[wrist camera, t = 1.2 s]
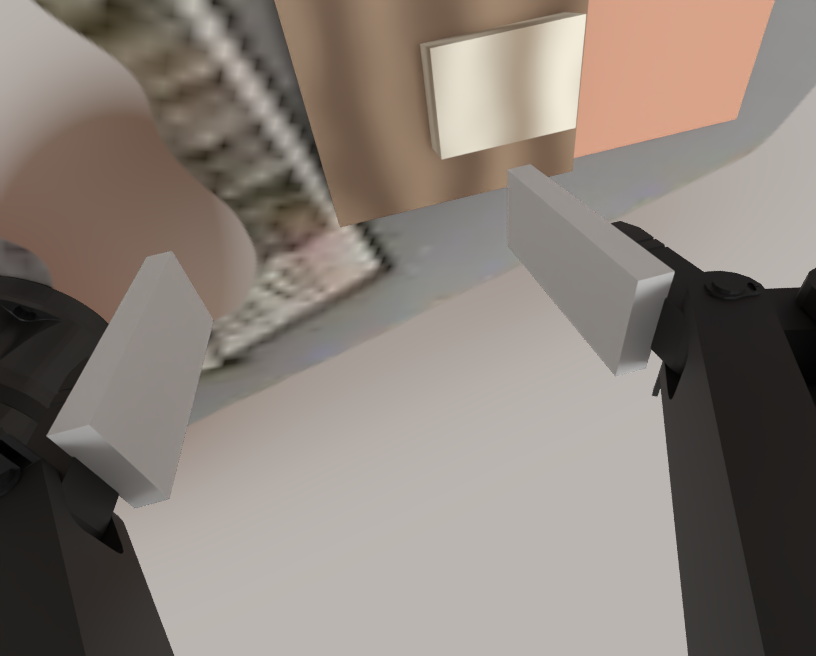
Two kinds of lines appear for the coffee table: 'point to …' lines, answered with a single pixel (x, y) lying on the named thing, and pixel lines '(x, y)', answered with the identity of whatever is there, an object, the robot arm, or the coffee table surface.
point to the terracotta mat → (664, 67)
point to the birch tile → (503, 83)
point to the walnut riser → (400, 100)
